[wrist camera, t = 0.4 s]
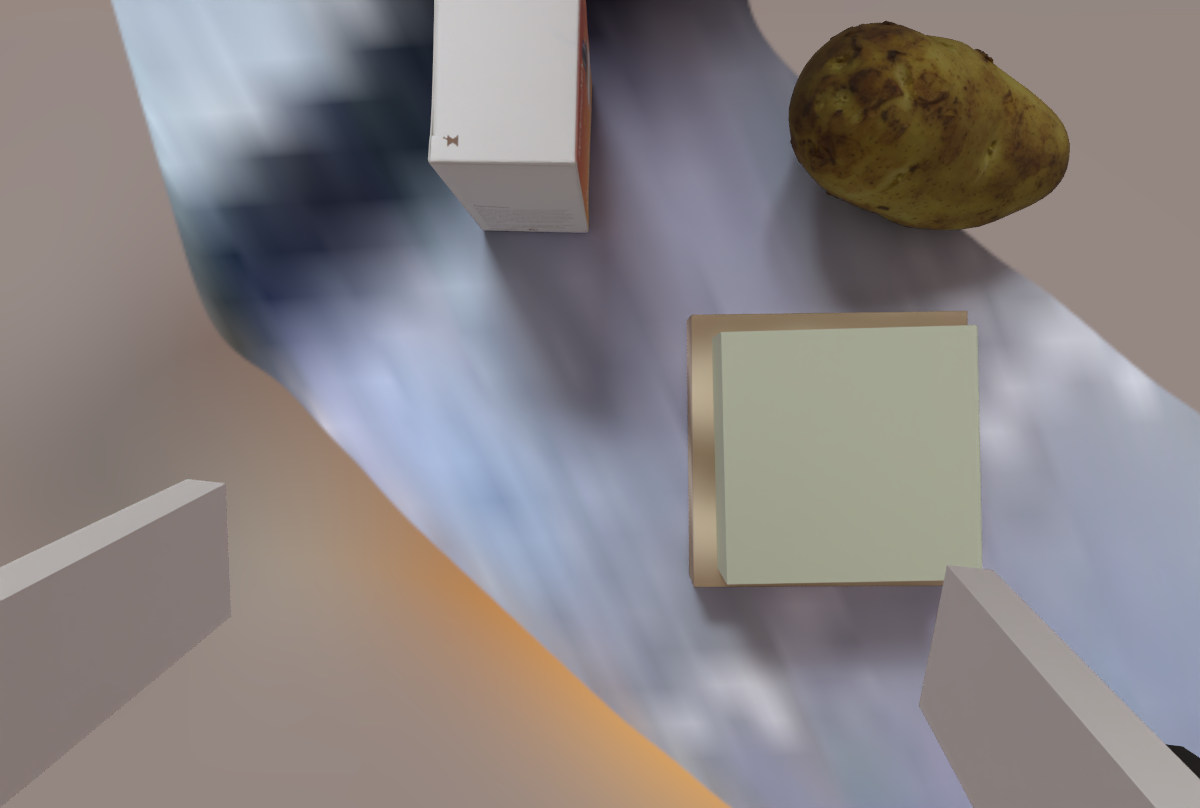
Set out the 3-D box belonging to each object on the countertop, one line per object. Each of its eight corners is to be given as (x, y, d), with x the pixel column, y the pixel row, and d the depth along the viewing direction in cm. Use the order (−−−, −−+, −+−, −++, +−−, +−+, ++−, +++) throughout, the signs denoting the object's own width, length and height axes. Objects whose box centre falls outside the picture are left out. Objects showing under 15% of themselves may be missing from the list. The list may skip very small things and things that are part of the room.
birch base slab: (685, 321, 37) (691, 314, 34) (938, 318, 37) (967, 311, 34) (687, 571, 37) (694, 586, 34) (940, 570, 37) (969, 585, 34)
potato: (963, 303, 36) (1062, 276, 28) (741, 176, 36) (777, 114, 28) (1047, 158, 36) (1171, 91, 28) (824, 32, 36) (884, -72, 28)
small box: (589, 235, 36) (578, 170, 26) (480, 232, 37) (425, 166, 26) (594, 77, 36) (585, -53, 26) (484, 74, 36) (431, -56, 26)
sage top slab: (711, 337, 34) (721, 331, 31) (945, 331, 34) (977, 325, 31) (717, 568, 34) (727, 584, 31) (949, 563, 34) (982, 579, 31)
